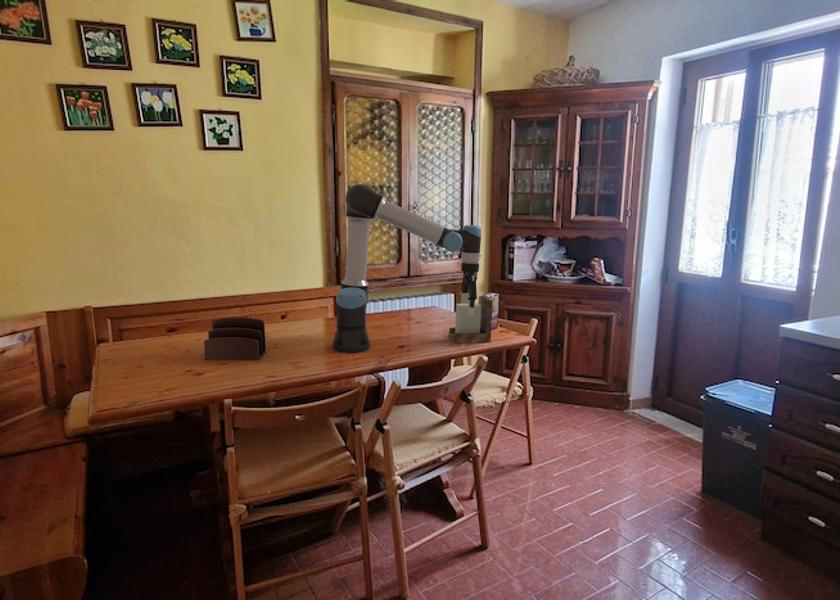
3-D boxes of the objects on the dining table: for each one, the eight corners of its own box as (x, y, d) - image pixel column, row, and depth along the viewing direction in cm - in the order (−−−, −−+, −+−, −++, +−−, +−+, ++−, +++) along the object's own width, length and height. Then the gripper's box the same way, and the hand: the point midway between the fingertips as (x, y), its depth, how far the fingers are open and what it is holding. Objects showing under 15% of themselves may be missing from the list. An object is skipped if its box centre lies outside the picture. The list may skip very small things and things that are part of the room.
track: (453, 342, 215) (455, 300, 211) (449, 335, 226) (450, 295, 222) (490, 341, 217) (492, 300, 213) (484, 334, 228) (486, 295, 224)
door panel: (457, 337, 218) (458, 305, 215) (455, 334, 222) (456, 303, 220) (479, 337, 220) (481, 305, 217) (477, 334, 224) (478, 303, 221)
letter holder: (214, 352, 196) (212, 316, 193) (266, 352, 197) (264, 317, 194) (204, 360, 186) (202, 323, 183) (259, 360, 187) (257, 323, 184)
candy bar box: (488, 326, 243) (490, 292, 240) (497, 327, 240) (499, 293, 237) (476, 330, 235) (478, 295, 231) (486, 332, 232) (487, 297, 228)
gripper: (486, 266, 203) (483, 318, 207) (472, 258, 227) (469, 305, 231) (468, 266, 202) (465, 318, 206) (455, 258, 226) (453, 304, 230)
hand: (467, 311), depth 219 cm, fingers open, 13 cm apart
